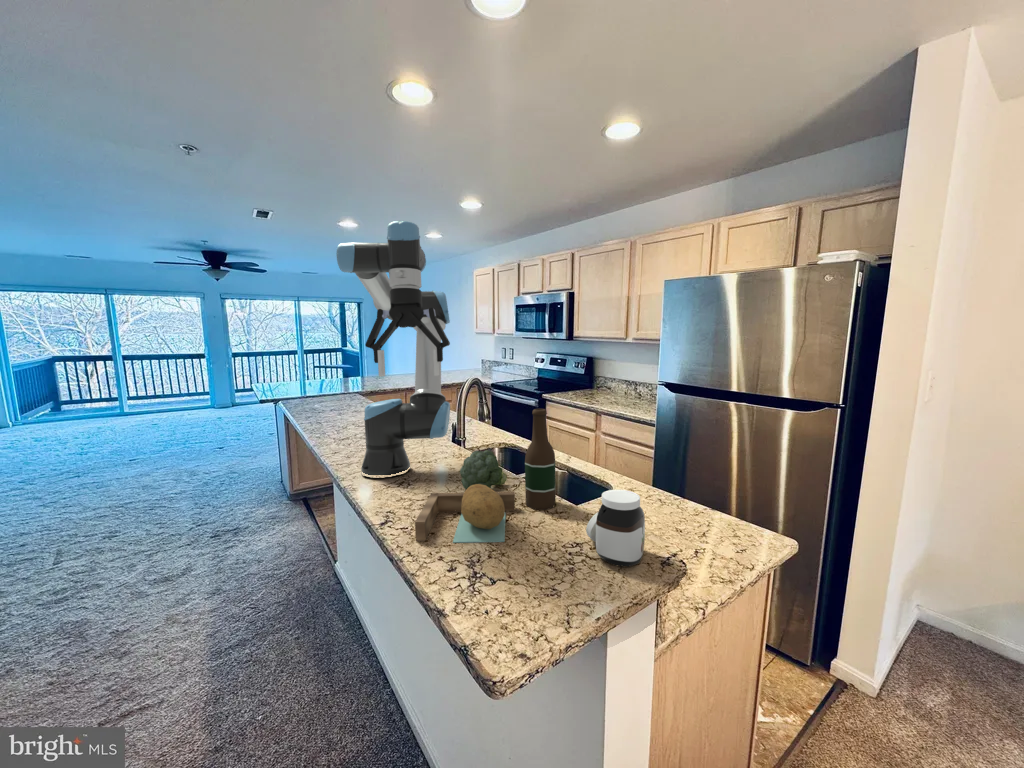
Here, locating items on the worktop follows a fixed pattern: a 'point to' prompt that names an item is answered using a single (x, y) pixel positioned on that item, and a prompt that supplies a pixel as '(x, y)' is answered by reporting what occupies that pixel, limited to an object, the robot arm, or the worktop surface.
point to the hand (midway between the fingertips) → (409, 376)
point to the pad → (478, 532)
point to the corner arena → (449, 509)
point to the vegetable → (482, 470)
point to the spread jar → (619, 528)
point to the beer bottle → (540, 466)
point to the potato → (482, 507)
